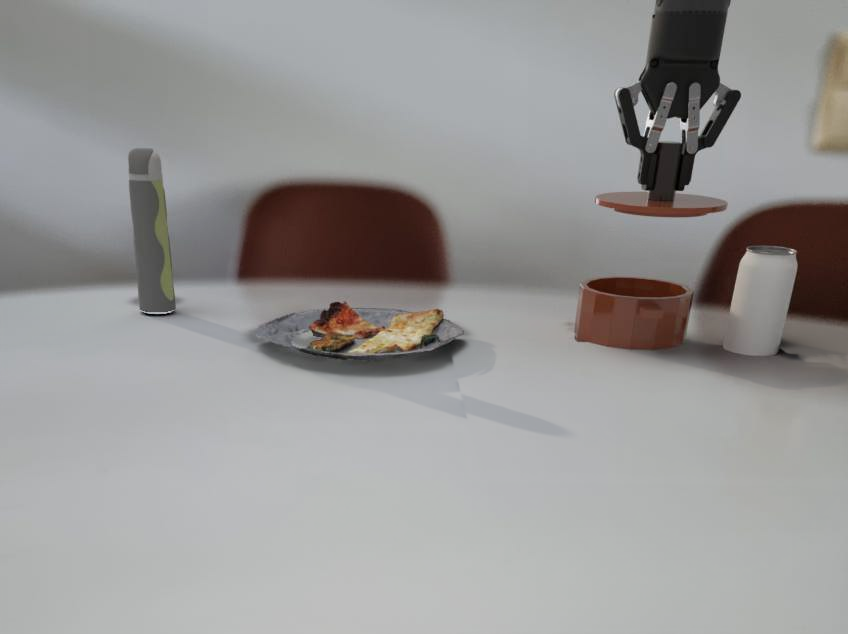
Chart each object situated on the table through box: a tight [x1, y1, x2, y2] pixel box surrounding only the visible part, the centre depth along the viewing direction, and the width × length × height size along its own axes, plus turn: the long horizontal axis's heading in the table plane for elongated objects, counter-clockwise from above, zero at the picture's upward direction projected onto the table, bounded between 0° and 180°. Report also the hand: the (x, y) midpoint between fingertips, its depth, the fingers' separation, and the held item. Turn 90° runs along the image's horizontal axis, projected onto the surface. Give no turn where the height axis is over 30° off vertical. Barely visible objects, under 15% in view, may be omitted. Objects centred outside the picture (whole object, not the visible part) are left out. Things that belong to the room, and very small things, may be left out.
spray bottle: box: [127, 147, 177, 312], centre depth 128 cm, size 5×5×20 cm
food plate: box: [254, 300, 464, 364], centre depth 118 cm, size 25×23×4 cm
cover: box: [594, 140, 729, 218], centre depth 109 cm, size 15×15×7 cm
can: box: [722, 245, 799, 357], centre depth 116 cm, size 6×6×12 cm
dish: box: [573, 275, 695, 351], centre depth 122 cm, size 14×19×6 cm
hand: (662, 189), depth 110 cm, fingers closed on cover, 3 cm apart
